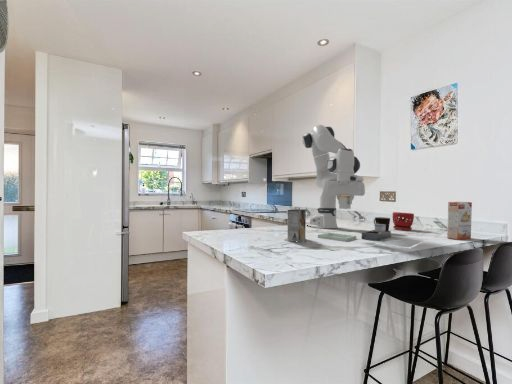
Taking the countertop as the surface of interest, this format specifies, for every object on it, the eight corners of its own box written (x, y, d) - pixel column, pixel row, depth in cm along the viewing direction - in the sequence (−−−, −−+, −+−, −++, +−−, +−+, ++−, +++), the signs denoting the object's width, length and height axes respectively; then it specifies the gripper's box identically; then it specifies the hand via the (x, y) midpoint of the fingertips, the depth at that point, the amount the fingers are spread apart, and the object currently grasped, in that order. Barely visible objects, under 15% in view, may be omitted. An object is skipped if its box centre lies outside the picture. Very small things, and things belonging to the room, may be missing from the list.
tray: (318, 238, 148) (318, 234, 148) (329, 236, 157) (329, 232, 157) (345, 242, 137) (345, 238, 137) (356, 239, 145) (356, 236, 145)
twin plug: (374, 236, 153) (374, 224, 153) (378, 235, 157) (378, 223, 157) (382, 237, 150) (382, 225, 150) (385, 236, 154) (385, 224, 154)
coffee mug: (391, 235, 164) (392, 218, 164) (376, 234, 166) (376, 218, 166) (386, 232, 176) (386, 216, 176) (372, 231, 178) (372, 216, 178)
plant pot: (409, 231, 182) (409, 213, 182) (389, 229, 192) (389, 212, 192) (416, 230, 190) (416, 212, 190) (396, 228, 200) (397, 211, 200)
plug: (338, 208, 146) (339, 195, 146) (343, 208, 150) (343, 195, 150) (346, 208, 143) (346, 195, 143) (350, 208, 147) (351, 195, 147)
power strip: (361, 240, 145) (361, 231, 145) (376, 236, 160) (376, 228, 160) (377, 242, 140) (377, 233, 140) (390, 237, 154) (390, 230, 154)
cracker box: (458, 240, 149) (459, 202, 149) (446, 238, 155) (447, 201, 155) (472, 238, 156) (472, 201, 156) (460, 236, 161) (460, 201, 161)
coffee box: (294, 238, 147) (294, 208, 147) (305, 240, 143) (306, 209, 143) (287, 241, 139) (287, 209, 139) (298, 242, 135) (299, 210, 135)
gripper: (325, 178, 152) (324, 203, 152) (360, 177, 137) (360, 204, 137) (331, 179, 156) (330, 203, 156) (366, 178, 142) (366, 204, 142)
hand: (345, 204), depth 147 cm, fingers closed on plug, 4 cm apart
